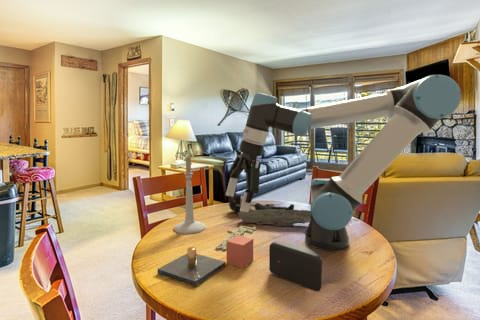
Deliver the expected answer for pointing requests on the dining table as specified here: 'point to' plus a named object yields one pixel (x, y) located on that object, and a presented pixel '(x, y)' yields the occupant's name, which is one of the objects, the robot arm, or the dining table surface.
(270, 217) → the stone fragment
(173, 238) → the dining table surface
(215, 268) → the gray slab
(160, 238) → the dining table surface
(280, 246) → the leaning round-cornered charcoal block
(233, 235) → the decorative sign
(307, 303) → the dining table surface
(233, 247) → the salmon pink cube
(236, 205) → the figurine
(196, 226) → the candlestick
